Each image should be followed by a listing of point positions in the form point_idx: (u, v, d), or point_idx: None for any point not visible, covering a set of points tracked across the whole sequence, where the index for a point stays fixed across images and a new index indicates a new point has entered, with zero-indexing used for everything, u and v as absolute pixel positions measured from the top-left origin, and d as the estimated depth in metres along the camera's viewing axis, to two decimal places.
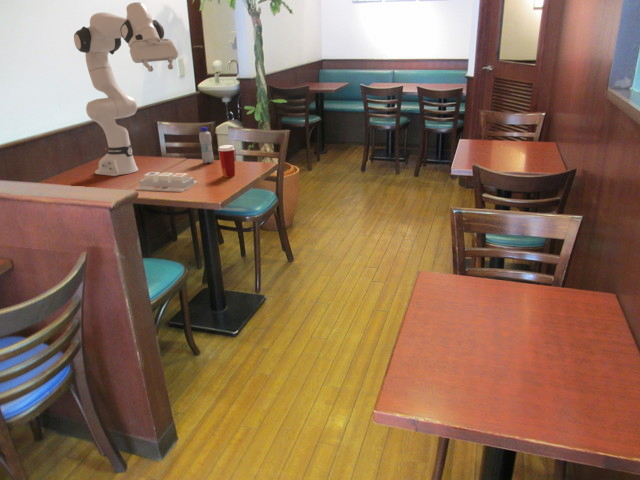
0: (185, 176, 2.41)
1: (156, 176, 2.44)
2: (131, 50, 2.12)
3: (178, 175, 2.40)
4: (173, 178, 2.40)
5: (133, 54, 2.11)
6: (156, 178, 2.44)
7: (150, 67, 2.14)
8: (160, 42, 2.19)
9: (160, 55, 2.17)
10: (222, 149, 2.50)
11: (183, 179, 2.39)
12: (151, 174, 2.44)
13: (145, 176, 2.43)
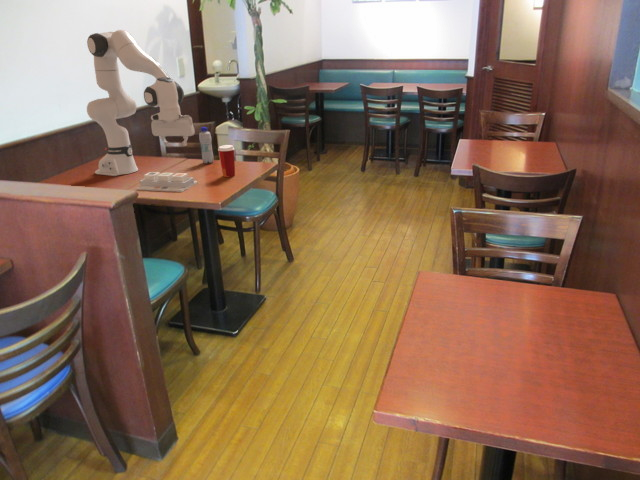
0: (185, 176, 2.41)
1: (156, 176, 2.44)
2: None
3: (178, 175, 2.40)
4: (173, 178, 2.40)
5: None
6: (156, 178, 2.44)
7: (164, 143, 2.35)
8: (176, 121, 2.29)
9: (173, 134, 2.31)
10: (222, 149, 2.50)
11: (183, 179, 2.39)
12: (151, 174, 2.44)
13: (145, 176, 2.43)
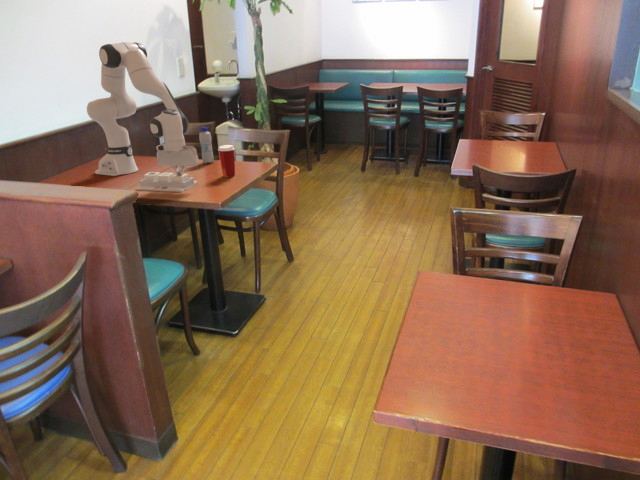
0: (185, 176, 2.41)
1: (156, 176, 2.44)
2: None
3: (178, 175, 2.40)
4: (173, 178, 2.40)
5: None
6: (156, 178, 2.44)
7: (177, 172, 2.40)
8: (181, 152, 2.34)
9: (178, 164, 2.37)
10: (222, 149, 2.50)
11: (183, 179, 2.39)
12: (151, 174, 2.44)
13: (145, 176, 2.43)
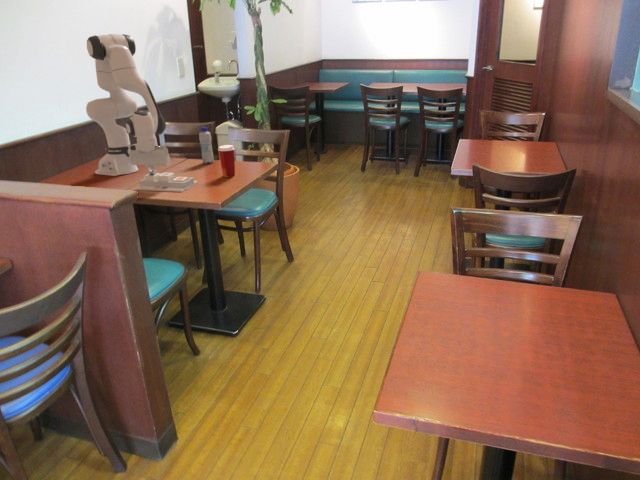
0: (186, 180, 2.41)
1: (156, 177, 2.44)
2: None
3: (179, 179, 2.40)
4: None
5: None
6: (156, 179, 2.44)
7: (149, 172, 2.44)
8: (153, 152, 2.38)
9: (150, 164, 2.41)
10: (222, 149, 2.50)
11: None
12: (151, 175, 2.44)
13: (145, 177, 2.44)
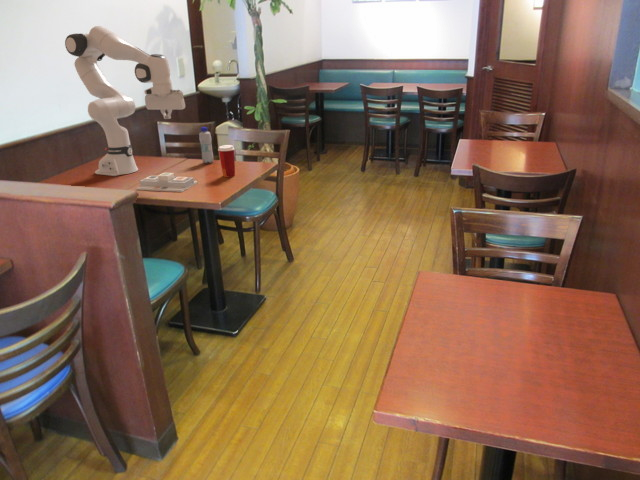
0: (186, 180, 2.41)
1: None
2: None
3: (179, 179, 2.40)
4: None
5: None
6: None
7: (164, 116, 2.51)
8: (168, 95, 2.45)
9: (165, 108, 2.48)
10: (222, 149, 2.50)
11: None
12: (152, 178, 2.44)
13: (146, 180, 2.44)
